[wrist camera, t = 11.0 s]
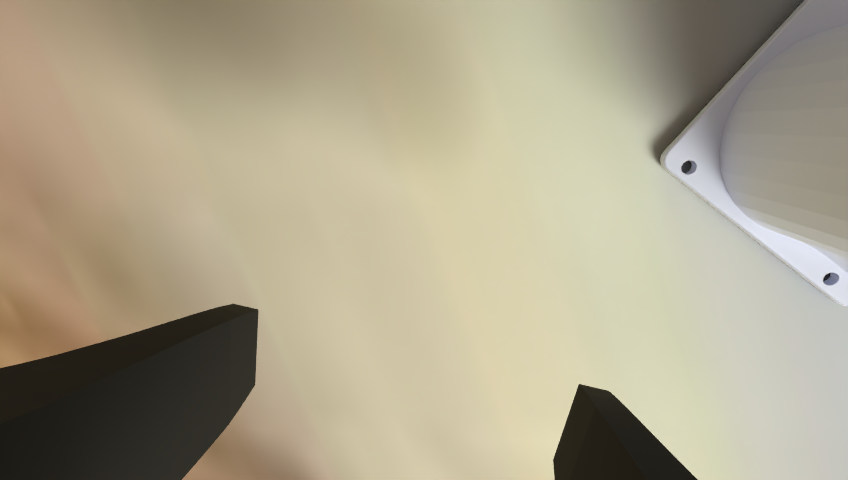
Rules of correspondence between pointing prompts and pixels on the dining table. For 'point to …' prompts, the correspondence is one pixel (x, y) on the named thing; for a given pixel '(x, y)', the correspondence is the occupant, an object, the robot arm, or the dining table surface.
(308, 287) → the dining table surface
